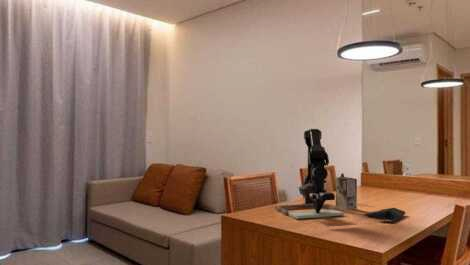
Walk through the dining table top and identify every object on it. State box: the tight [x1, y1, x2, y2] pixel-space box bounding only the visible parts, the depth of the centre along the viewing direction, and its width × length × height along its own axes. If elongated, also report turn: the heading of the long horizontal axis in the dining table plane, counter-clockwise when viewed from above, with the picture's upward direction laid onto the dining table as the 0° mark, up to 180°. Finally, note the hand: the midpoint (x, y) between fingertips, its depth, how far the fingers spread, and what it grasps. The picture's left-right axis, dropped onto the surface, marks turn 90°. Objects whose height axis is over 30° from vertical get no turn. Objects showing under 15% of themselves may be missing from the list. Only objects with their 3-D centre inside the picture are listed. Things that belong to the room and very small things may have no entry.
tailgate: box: [288, 209, 345, 220], centre depth 155 cm, size 2×24×8 cm
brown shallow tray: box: [274, 203, 337, 216], centre depth 165 cm, size 12×26×3 cm, turn 107°
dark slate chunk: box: [362, 207, 406, 225], centre depth 159 cm, size 15×22×5 cm
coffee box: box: [335, 176, 358, 211], centre depth 174 cm, size 9×6×16 cm
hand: (317, 213), depth 154 cm, fingers closed, pressing on tailgate
